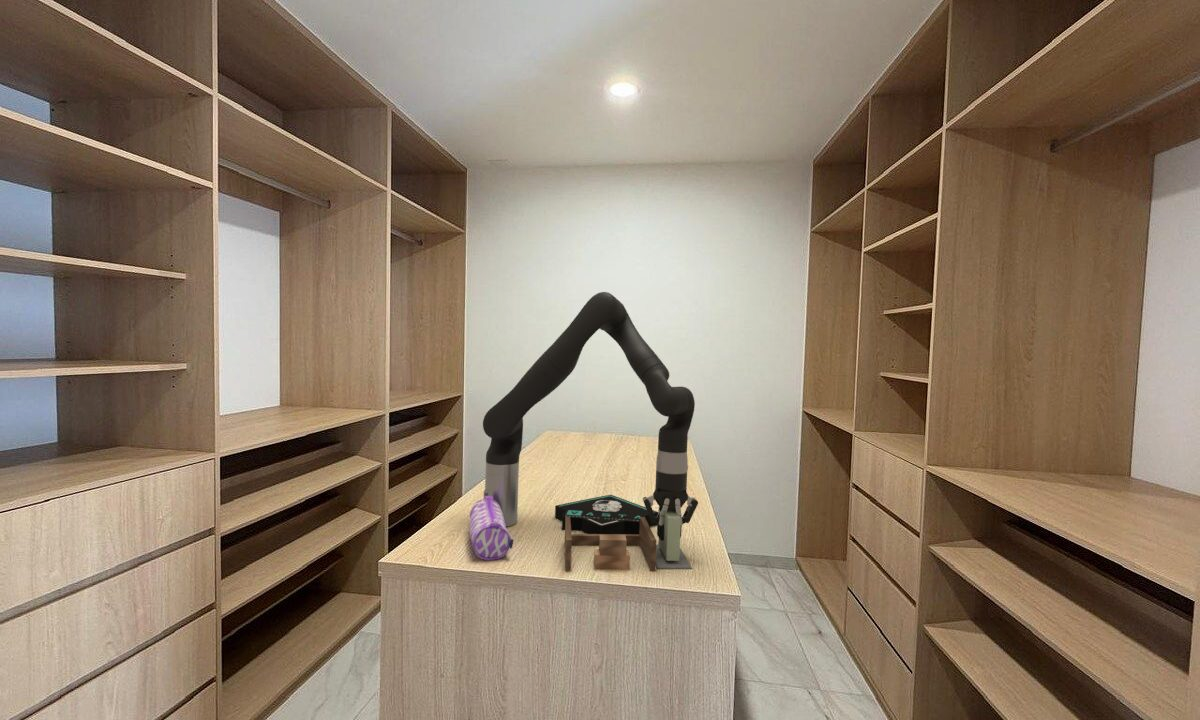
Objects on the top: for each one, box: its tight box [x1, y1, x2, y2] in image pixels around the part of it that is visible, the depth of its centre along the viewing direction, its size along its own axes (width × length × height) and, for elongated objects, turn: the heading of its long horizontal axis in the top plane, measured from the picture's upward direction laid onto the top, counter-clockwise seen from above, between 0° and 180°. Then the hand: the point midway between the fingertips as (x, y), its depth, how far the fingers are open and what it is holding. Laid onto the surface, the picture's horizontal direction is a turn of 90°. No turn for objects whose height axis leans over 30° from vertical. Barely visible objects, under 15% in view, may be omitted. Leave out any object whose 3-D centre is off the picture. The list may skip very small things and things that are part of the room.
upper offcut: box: [598, 534, 627, 556], centre depth 119 cm, size 6×4×4 cm, turn 93°
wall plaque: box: [554, 494, 658, 534], centre depth 151 cm, size 30×4×30 cm
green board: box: [657, 511, 681, 561], centre depth 126 cm, size 10×3×10 cm, turn 5°
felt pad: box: [656, 544, 693, 570], centre depth 126 cm, size 8×14×1 cm, turn 5°
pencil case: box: [468, 495, 514, 561], centre depth 130 cm, size 22×9×10 cm, turn 19°
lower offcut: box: [593, 548, 631, 571], centre depth 120 cm, size 8×4×4 cm, turn 93°
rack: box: [563, 516, 657, 572], centre depth 125 cm, size 20×16×7 cm
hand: (668, 539), depth 126 cm, fingers closed on green board, 3 cm apart
